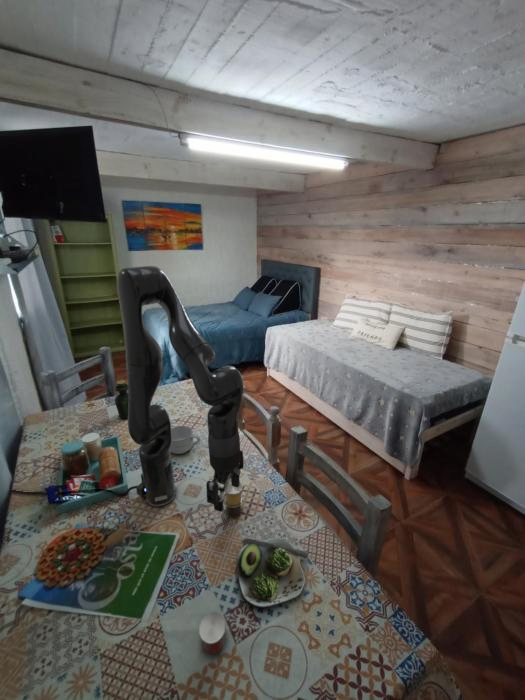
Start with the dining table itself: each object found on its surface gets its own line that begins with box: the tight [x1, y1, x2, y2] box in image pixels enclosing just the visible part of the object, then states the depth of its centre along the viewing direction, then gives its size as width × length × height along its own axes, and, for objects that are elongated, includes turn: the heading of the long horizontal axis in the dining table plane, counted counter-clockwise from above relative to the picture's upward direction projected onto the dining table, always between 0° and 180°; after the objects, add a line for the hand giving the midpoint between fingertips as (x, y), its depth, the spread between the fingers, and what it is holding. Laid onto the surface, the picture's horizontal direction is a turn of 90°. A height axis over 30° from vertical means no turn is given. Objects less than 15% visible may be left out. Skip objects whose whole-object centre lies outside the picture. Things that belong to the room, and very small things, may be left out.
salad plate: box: [235, 537, 309, 609], centre depth 82 cm, size 19×18×5 cm
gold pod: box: [224, 480, 243, 505], centre depth 97 cm, size 6×6×5 cm
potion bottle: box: [114, 379, 129, 420], centre depth 147 cm, size 8×8×18 cm
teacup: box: [170, 425, 201, 455], centre depth 126 cm, size 14×11×8 cm
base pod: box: [223, 495, 243, 518], centre depth 99 cm, size 6×6×5 cm
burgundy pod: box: [198, 611, 227, 655], centre depth 68 cm, size 6×6×5 cm
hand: (227, 497), depth 82 cm, fingers open, 8 cm apart
